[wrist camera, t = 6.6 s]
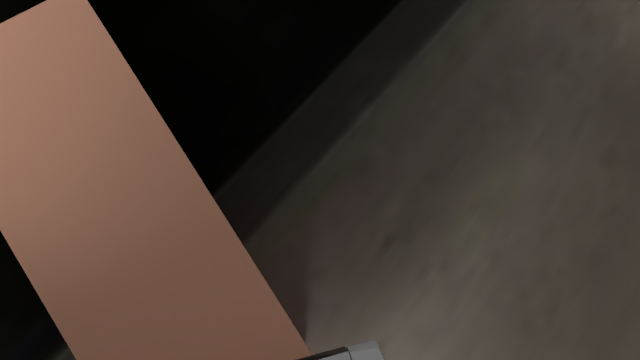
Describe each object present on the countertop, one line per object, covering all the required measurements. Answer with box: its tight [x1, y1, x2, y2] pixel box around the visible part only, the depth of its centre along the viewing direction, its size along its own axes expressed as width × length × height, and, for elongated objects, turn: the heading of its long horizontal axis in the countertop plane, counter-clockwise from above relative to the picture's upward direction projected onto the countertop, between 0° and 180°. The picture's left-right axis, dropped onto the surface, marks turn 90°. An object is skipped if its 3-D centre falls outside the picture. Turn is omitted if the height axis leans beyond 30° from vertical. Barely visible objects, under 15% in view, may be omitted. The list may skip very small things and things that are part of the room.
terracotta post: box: [0, 0, 313, 360], centre depth 14 cm, size 4×4×10 cm
